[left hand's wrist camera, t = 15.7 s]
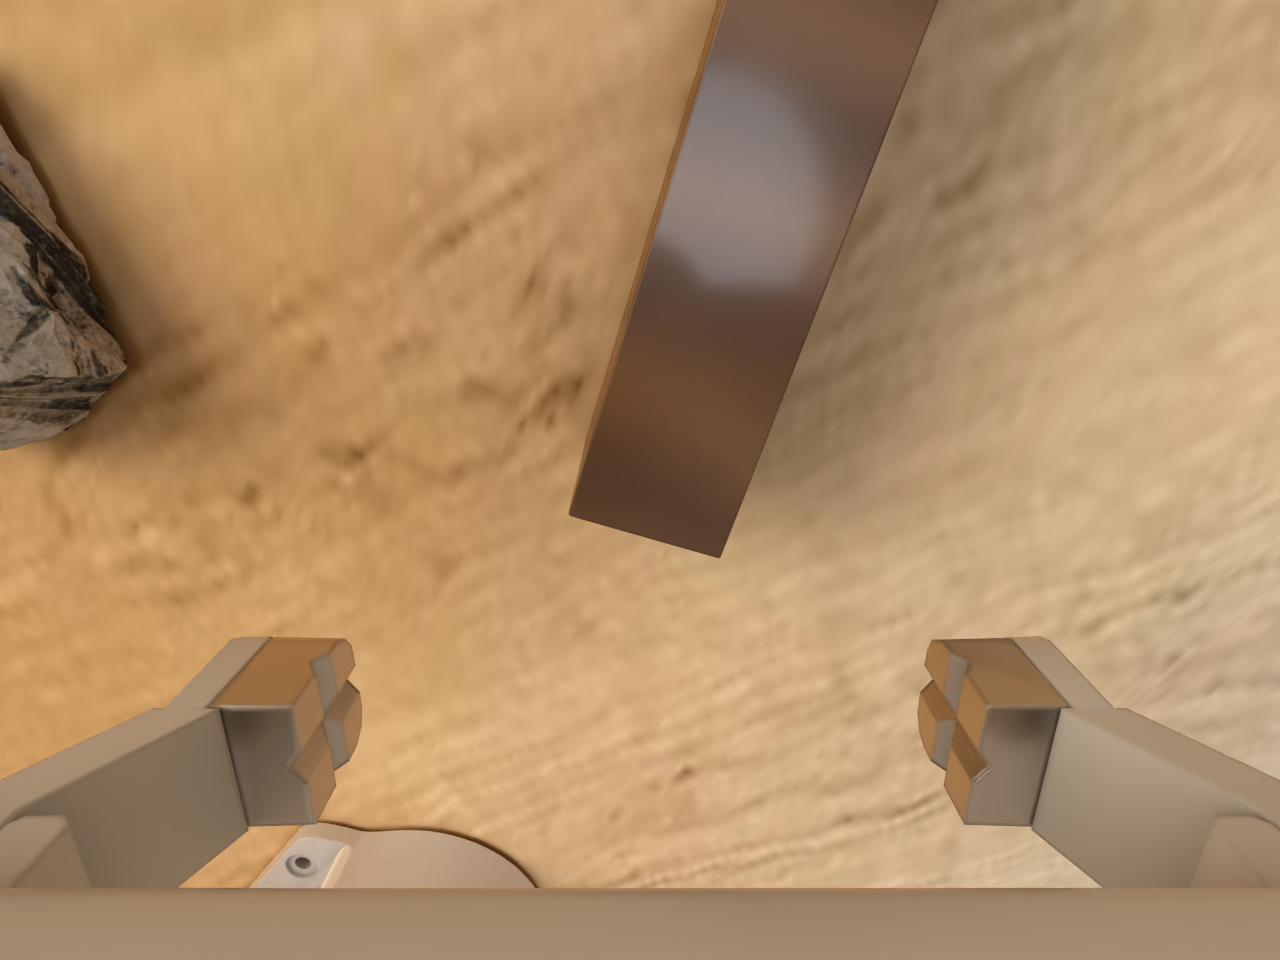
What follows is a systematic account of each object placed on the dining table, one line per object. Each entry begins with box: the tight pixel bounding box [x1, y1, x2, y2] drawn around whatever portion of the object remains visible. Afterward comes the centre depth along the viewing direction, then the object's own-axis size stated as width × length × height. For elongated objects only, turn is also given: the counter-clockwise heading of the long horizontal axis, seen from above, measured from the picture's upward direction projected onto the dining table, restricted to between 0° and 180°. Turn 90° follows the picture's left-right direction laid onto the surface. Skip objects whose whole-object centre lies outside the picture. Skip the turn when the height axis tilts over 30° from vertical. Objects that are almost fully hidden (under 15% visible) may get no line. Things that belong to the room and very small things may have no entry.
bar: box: [569, 0, 938, 558], centre depth 25 cm, size 25×6×8 cm, turn 163°
